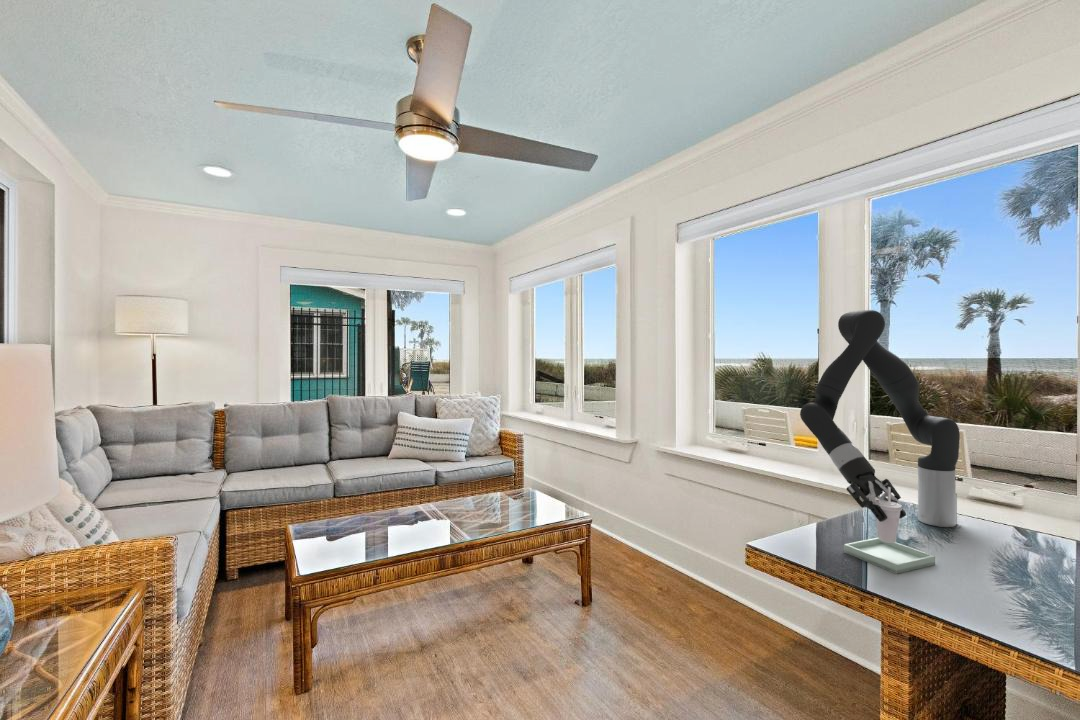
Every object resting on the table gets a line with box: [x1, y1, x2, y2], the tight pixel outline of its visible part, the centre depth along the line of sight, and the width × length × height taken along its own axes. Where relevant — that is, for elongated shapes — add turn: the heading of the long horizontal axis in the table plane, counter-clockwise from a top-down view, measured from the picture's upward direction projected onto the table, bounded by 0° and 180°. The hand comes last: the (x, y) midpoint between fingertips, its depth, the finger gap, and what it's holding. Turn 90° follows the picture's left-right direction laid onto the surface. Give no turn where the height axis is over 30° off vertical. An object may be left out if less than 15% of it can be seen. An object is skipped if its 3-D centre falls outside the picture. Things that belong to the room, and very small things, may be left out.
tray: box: [843, 537, 936, 575], centre depth 129 cm, size 14×14×2 cm
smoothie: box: [874, 487, 903, 543], centre depth 129 cm, size 6×6×14 cm
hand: (893, 518), depth 127 cm, fingers closed on smoothie, 6 cm apart
